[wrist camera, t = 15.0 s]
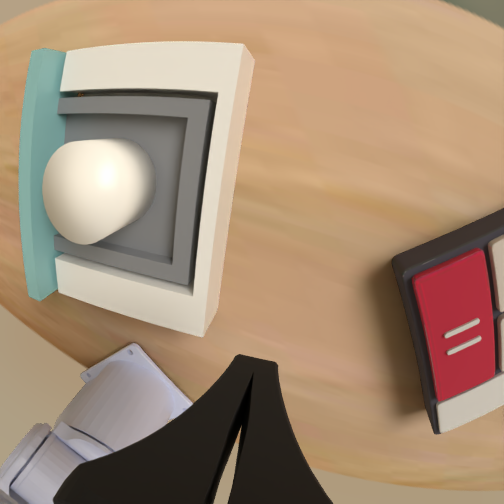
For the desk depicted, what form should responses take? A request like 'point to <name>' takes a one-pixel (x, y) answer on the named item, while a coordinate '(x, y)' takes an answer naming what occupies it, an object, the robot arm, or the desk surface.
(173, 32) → the desk surface
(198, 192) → the tray
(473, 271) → the calculator
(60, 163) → the white dome-topped cylinder
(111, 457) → the robot arm
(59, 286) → the dock
